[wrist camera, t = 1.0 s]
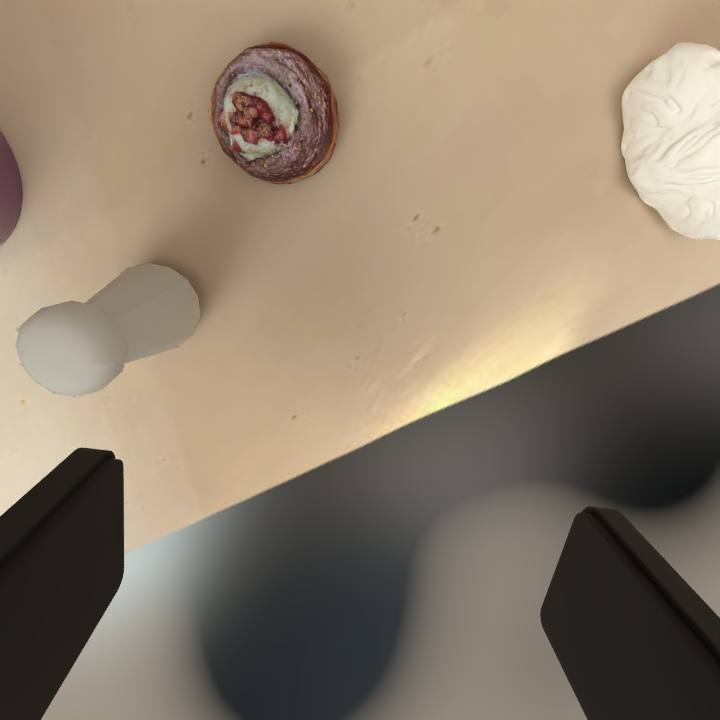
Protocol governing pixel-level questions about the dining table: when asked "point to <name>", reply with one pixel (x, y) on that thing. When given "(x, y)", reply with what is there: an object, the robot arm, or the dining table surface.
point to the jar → (8, 191)
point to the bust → (677, 138)
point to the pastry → (275, 113)
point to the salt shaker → (108, 330)
